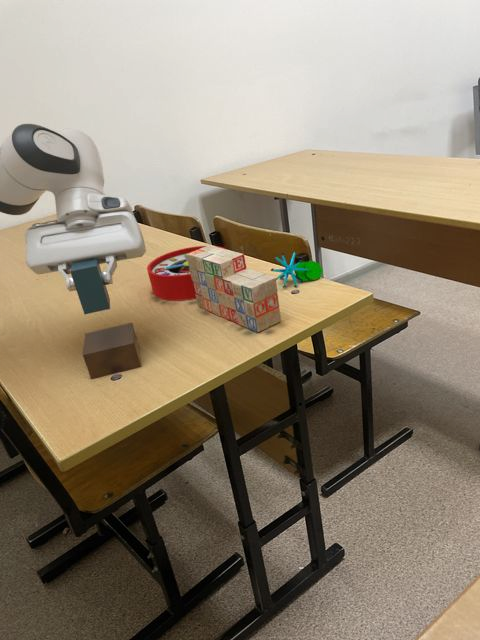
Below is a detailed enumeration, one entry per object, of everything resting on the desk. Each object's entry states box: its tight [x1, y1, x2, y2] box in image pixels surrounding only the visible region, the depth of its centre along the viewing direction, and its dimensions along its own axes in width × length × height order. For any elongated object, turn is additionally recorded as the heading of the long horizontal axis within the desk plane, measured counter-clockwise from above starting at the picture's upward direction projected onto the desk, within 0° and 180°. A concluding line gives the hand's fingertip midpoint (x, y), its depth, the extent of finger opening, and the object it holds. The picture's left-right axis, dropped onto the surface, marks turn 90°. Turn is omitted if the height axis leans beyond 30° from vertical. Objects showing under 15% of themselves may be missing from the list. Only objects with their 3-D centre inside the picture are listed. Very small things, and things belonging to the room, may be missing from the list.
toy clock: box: [146, 245, 228, 302], centre depth 127 cm, size 20×6×20 cm
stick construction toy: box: [270, 252, 324, 289], centre depth 120 cm, size 12×7×8 cm
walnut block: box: [82, 322, 142, 380], centre depth 97 cm, size 9×9×5 cm
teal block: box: [70, 258, 111, 315], centre depth 91 cm, size 4×4×8 cm
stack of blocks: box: [186, 244, 282, 333], centre depth 106 cm, size 21×6×12 cm, turn 40°
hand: (90, 286), depth 91 cm, fingers closed on teal block, 4 cm apart
